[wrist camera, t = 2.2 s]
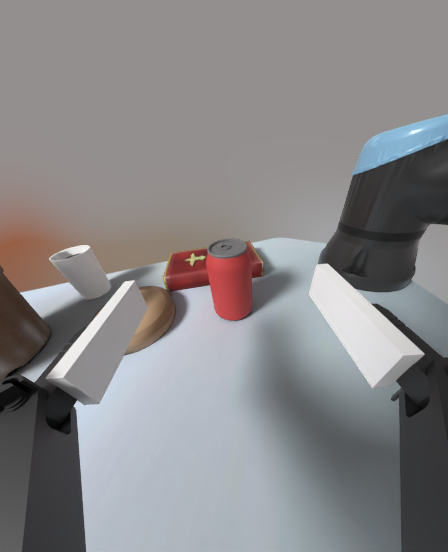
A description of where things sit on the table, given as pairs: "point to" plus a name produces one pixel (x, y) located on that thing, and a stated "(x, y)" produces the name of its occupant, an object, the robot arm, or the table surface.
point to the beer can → (230, 278)
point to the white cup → (82, 271)
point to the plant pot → (18, 329)
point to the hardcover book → (199, 268)
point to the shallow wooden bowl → (152, 318)
